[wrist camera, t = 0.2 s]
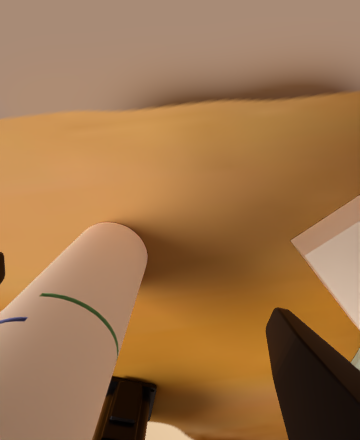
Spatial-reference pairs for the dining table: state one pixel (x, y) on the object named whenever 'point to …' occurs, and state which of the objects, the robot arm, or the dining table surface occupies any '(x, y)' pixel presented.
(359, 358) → the pad
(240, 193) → the dining table surface
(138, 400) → the robot arm
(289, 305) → the dining table surface
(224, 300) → the dining table surface
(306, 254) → the socket block
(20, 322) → the cylindrical container
